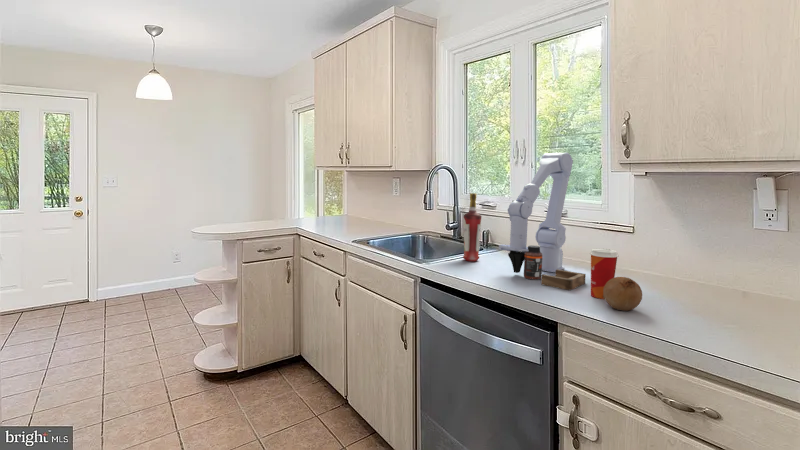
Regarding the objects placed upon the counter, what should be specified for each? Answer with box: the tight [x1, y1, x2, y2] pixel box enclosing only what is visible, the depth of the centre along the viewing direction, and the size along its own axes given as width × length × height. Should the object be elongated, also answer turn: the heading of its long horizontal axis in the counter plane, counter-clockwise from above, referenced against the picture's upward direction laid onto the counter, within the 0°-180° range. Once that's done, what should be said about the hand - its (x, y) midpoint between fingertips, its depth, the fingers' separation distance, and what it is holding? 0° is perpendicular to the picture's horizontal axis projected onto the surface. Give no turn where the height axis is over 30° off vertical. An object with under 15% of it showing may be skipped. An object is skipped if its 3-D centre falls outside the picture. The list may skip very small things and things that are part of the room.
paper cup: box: [589, 248, 619, 300], centre depth 126 cm, size 8×8×14 cm
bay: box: [540, 269, 586, 291], centre depth 140 cm, size 12×10×3 cm
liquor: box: [462, 192, 482, 263], centre depth 175 cm, size 7×7×28 cm
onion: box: [603, 276, 643, 312], centre depth 115 cm, size 10×9×10 cm
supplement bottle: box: [523, 245, 543, 281], centre depth 147 cm, size 6×6×11 cm
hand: (516, 272), depth 152 cm, fingers closed
